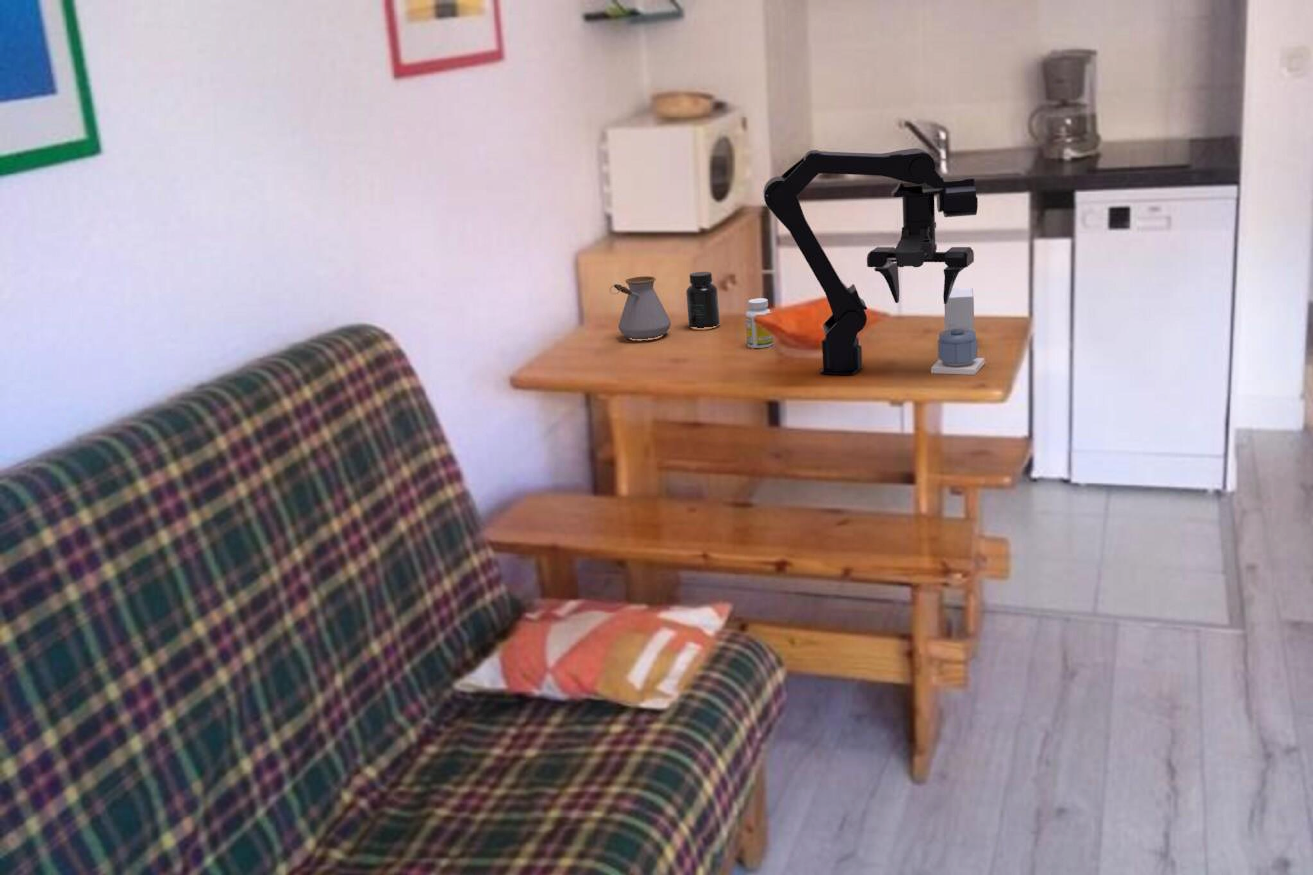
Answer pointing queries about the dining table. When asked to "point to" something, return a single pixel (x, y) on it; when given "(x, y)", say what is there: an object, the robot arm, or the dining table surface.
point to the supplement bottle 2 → (754, 332)
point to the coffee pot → (642, 310)
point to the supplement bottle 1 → (702, 301)
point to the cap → (957, 346)
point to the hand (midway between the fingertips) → (921, 303)
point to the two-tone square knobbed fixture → (958, 367)
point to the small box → (960, 310)
